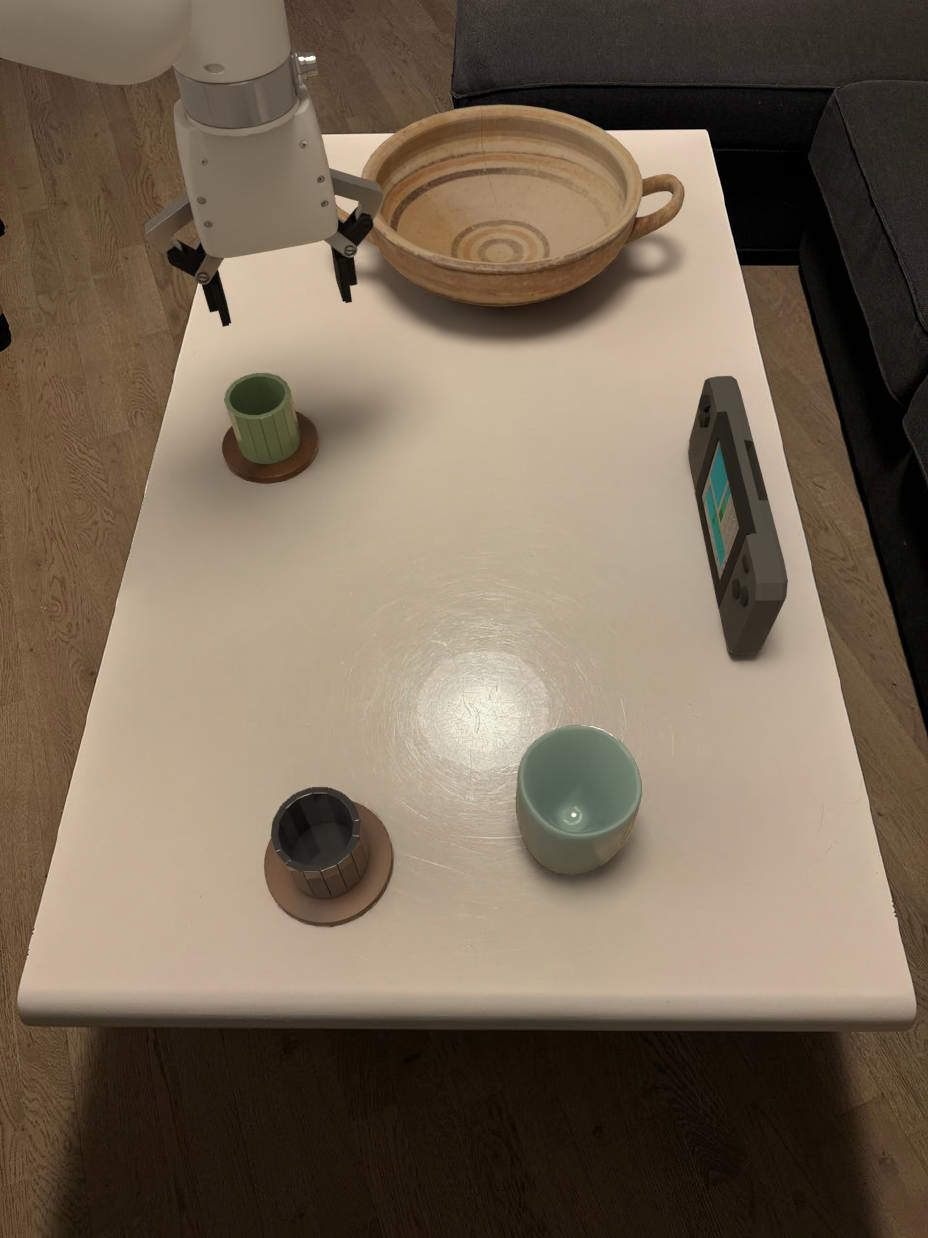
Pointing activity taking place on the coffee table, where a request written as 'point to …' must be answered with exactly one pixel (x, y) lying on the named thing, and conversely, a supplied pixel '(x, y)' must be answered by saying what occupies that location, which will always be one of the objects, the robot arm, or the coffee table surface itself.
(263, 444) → the green grooved mug
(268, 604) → the coffee table surface
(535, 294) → the ceramic bowl
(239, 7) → the robot arm
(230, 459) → the brown dish
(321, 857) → the dark bucket
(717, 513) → the handheld gaming console
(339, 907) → the dark base
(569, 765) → the cup
